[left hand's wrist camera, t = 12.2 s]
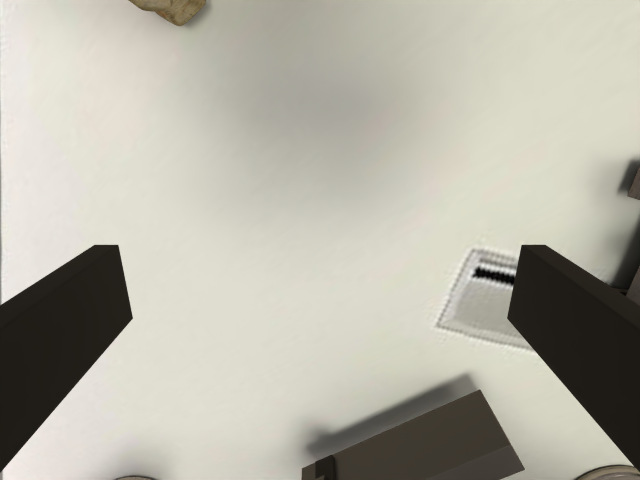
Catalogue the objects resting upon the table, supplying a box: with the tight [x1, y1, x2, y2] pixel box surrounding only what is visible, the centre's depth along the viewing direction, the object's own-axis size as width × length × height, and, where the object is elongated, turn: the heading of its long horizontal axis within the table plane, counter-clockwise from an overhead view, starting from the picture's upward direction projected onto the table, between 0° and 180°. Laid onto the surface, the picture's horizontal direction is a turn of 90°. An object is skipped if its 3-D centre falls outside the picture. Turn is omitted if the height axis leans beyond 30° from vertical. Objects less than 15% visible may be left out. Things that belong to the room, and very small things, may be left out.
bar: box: [302, 390, 525, 480], centre depth 48 cm, size 27×4×8 cm, turn 121°
